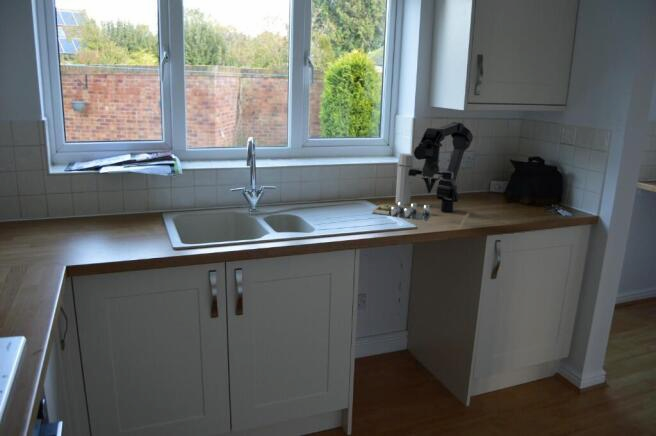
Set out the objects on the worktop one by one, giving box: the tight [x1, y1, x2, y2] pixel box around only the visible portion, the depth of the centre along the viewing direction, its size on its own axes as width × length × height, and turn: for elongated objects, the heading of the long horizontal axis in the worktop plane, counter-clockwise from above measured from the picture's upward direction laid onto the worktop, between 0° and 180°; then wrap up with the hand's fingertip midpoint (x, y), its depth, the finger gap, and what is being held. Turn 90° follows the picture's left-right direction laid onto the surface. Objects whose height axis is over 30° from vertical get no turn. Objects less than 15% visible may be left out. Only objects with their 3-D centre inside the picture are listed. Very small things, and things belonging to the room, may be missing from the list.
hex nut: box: [380, 203, 394, 213], centre depth 240 cm, size 5×6×3 cm
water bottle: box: [395, 153, 414, 206], centre depth 256 cm, size 9×8×25 cm
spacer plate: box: [371, 202, 433, 222], centre depth 237 cm, size 13×25×5 cm, turn 68°
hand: (429, 192), depth 230 cm, fingers closed
